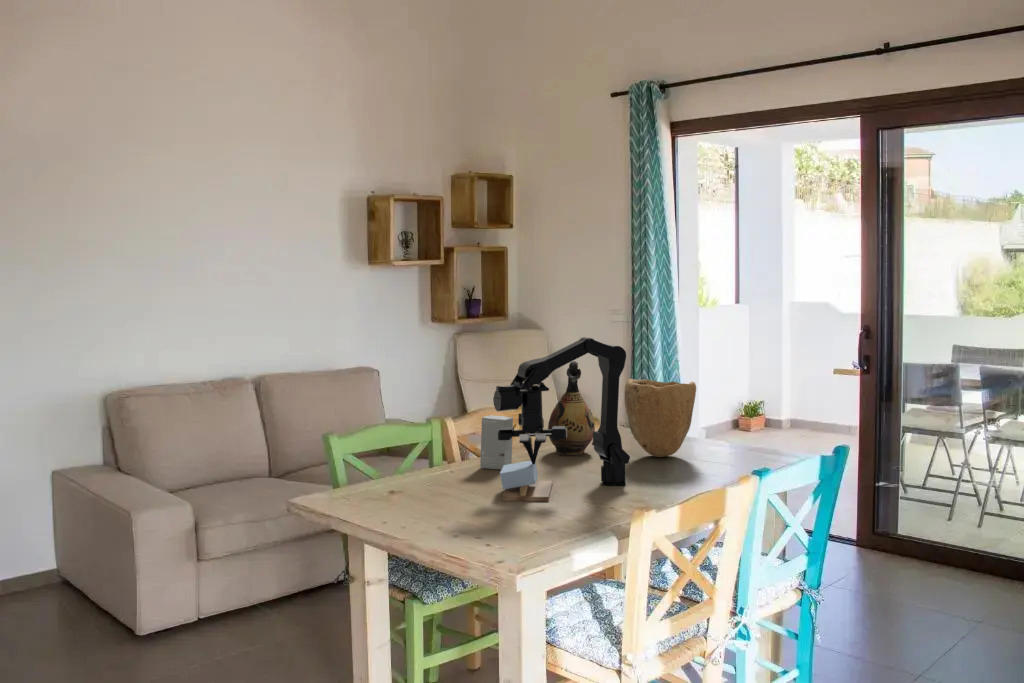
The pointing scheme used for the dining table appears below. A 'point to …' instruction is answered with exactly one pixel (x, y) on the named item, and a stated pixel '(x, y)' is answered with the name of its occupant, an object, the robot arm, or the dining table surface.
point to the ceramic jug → (572, 417)
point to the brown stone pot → (659, 414)
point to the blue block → (518, 474)
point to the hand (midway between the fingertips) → (533, 464)
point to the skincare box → (495, 443)
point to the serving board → (529, 492)
